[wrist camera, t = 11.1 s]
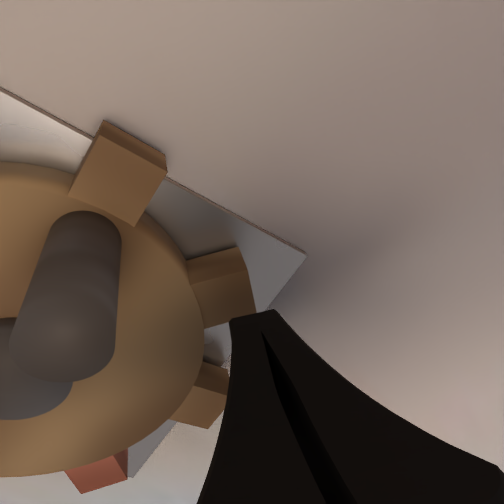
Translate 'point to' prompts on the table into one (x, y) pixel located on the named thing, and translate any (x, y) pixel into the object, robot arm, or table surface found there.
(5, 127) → the thin square base plate
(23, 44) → the table surface
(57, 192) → the sprocket
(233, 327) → the robot arm
